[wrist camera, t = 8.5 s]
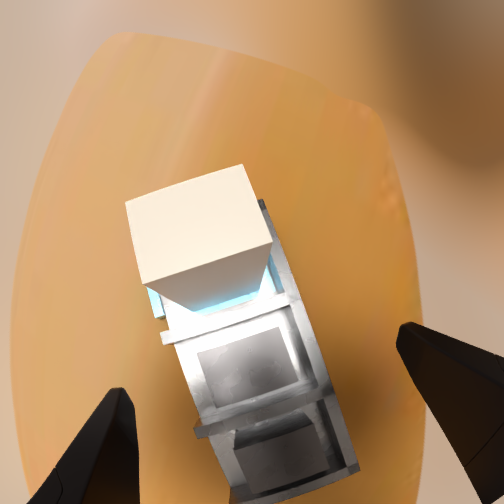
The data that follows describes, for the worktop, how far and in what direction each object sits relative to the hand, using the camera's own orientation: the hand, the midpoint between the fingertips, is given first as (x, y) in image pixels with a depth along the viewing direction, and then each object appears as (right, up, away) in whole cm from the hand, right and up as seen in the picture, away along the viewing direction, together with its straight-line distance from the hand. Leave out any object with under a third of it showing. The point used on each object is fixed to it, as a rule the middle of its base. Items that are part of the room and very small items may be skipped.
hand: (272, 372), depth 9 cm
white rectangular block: (-3, +2, +13) cm, 14 cm away
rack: (-1, -4, +13) cm, 14 cm away
